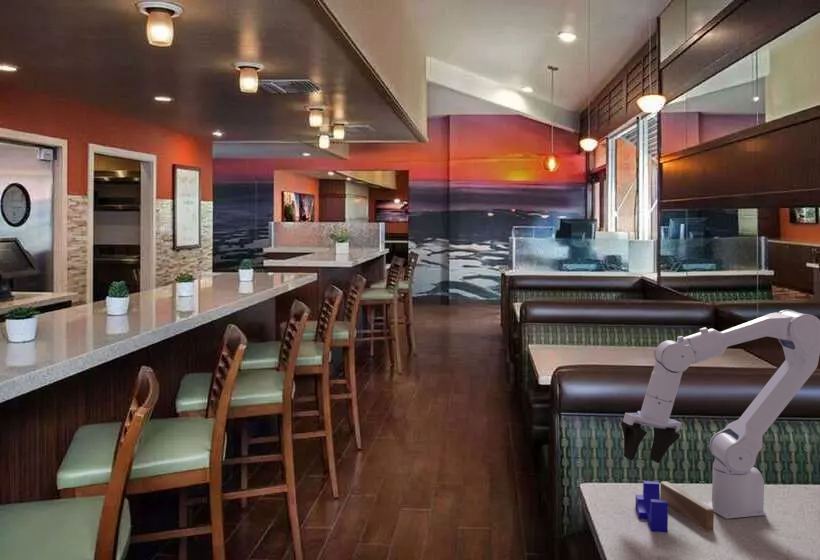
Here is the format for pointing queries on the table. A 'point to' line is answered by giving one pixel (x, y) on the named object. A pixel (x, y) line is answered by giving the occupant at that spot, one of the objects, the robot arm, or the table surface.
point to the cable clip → (652, 507)
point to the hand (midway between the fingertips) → (641, 459)
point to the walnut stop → (687, 506)
